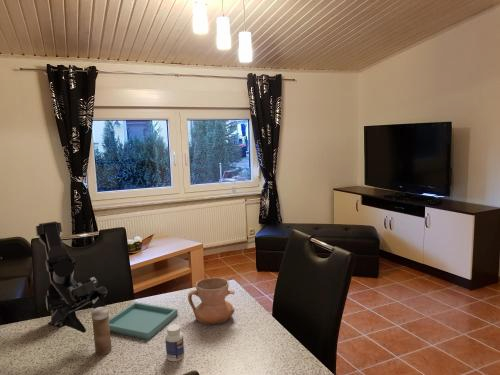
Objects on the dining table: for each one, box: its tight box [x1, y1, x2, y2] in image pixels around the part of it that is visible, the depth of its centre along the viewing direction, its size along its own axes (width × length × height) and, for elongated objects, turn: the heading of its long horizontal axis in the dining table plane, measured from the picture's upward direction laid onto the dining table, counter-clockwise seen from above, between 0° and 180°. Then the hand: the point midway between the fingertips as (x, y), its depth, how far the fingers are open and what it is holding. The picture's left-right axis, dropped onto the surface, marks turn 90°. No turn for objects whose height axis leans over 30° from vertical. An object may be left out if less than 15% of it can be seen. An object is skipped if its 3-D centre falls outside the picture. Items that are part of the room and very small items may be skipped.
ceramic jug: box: [187, 277, 236, 326], centre depth 134 cm, size 18×14×14 cm
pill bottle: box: [164, 324, 185, 362], centre depth 111 cm, size 5×5×10 cm
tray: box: [109, 301, 179, 341], centre depth 133 cm, size 20×18×2 cm
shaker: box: [90, 306, 113, 357], centre depth 115 cm, size 5×5×14 cm
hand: (96, 324), depth 115 cm, fingers open, 9 cm apart
